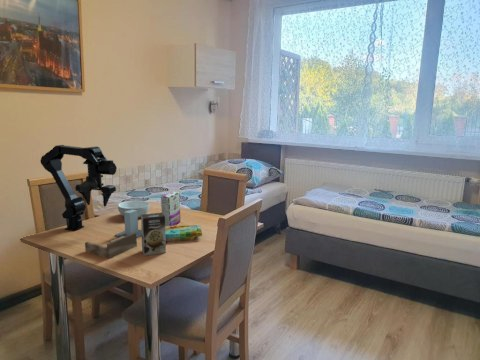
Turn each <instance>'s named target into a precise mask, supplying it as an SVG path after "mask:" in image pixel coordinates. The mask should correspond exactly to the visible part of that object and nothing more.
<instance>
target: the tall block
mask: <svg viewBox="0 0 480 360" xmlns="http://www.w3.org/2000/svg"><path fill="white" fill-rule="evenodd" d="M123 217H124V231H125V234H126V235H130V234H132V233H138V230H139V220H138V219H139V218H138V212H137V210H129V211H126V212H124V216H123Z"/></svg>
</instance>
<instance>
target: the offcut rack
mask: <svg viewBox="0 0 480 360" xmlns="http://www.w3.org/2000/svg"><path fill="white" fill-rule="evenodd" d="M137 241H138V238H137V237H136V233H132V234H130V235H127V236H122V237H117V238H115V239H113V240H110V242H109V243H106V246H104V245H101V244H96V243H94V242H89V241H85V242H84V247H85V249H84V251H85V252H86V253H89V254H93V255H96V256H99V257H103V258H107V259H113V258H114V257H117V256H119V255H121V254H123V253H126V252H127V251H129V250H131V249H134V248H135V247H138V242H137Z"/></svg>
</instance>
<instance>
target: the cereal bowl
mask: <svg viewBox="0 0 480 360" xmlns="http://www.w3.org/2000/svg"><path fill="white" fill-rule="evenodd" d="M117 209H118V212H119V214H120V215H122V216H123V217H124V212H126V211H129V210H137V212H138V219H139V218H141V214H148V213H149V211H150V203H149V202H148V201H144V200H128V201H127V200H126V201H123V202H120V203H118V204H117Z"/></svg>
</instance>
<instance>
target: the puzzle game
mask: <svg viewBox="0 0 480 360" xmlns="http://www.w3.org/2000/svg"><path fill="white" fill-rule="evenodd" d="M165 236H166V242H178V241H181V242H182V241H193V240H195V237H202V236H203V232H202V228H201V225H200V224H188V225H187V224H185V225H175V226H174V225H172V226H165Z"/></svg>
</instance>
